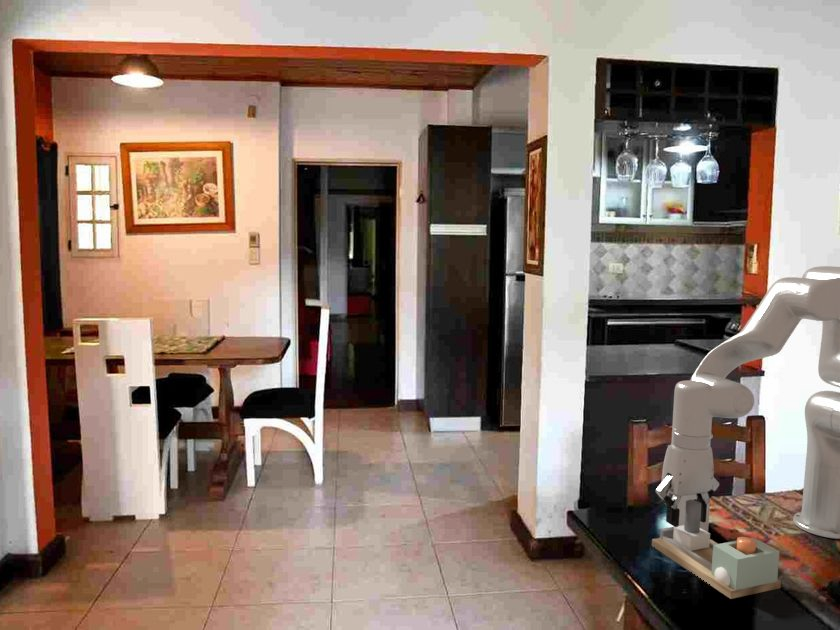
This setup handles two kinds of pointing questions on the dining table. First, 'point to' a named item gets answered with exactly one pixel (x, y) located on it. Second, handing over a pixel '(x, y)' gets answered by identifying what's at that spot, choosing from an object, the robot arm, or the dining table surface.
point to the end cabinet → (745, 566)
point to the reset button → (746, 545)
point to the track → (700, 563)
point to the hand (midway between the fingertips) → (685, 521)
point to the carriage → (692, 528)
